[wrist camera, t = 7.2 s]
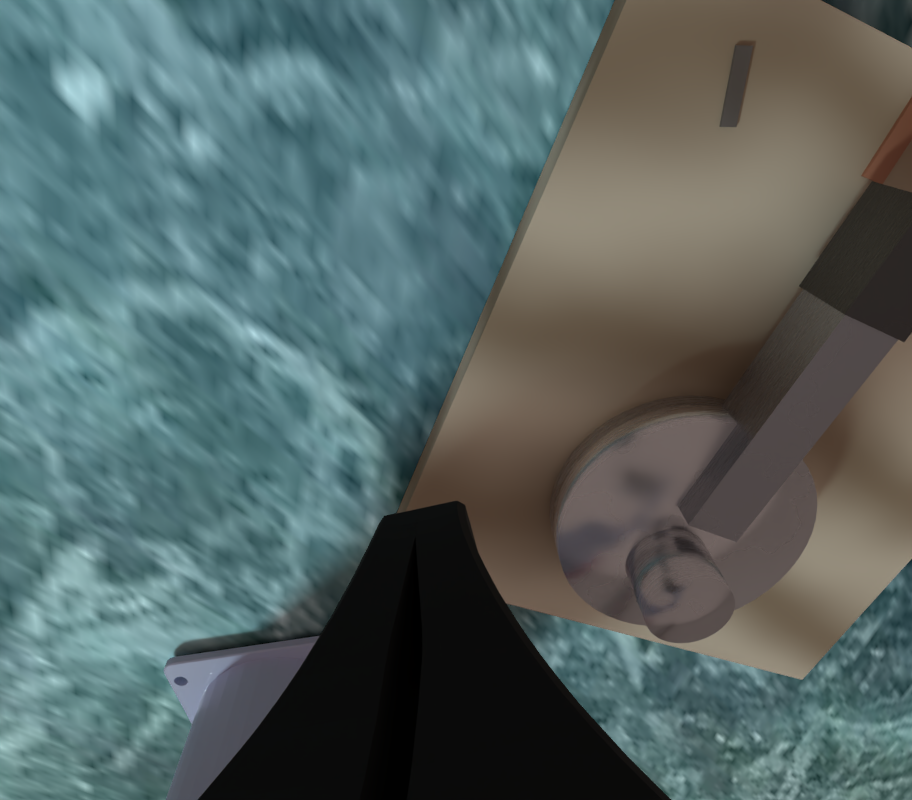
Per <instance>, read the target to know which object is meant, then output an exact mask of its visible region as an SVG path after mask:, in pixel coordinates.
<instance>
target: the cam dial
mask: <svg viewBox="0 0 912 800" xmlns="http://www.w3.org/2000/svg"><path fill="white" fill-rule="evenodd" d="M799 287H801V288H802V289H803V290H802V292H801V293H800V294H799V296H798V297H797V299H796V300H795V302H794V303H793V304H792V306H791V307H790V309H789V310H788V312H787V313H786V314H785V316H784V317H783V319H782V320H781V321H780V323H779V324H778V326H777V327H776V329H775V330H774V331H773V333H772V334H771V336H770V337H769V339H768V340H767V341H766V343H765V344H764V346H763V347H762V349H761V350H760V351H759V353H758V354H757V356H756V357H755V359H754V360H753V361H752V363H751V364H750V366H749V367H748V369H747V370H746V371H745V373H744V374H743V376H742V377H741V378H740V380H739V381H738V383H737V384H736V386H735V387H734V388H733V390H732V391H731V393H730V394H729V396H728V397H727V398H726V399H721V398H715V397H710V396H694V395H691V396H675V397H669V398H664V399H658V400H655V401H651V402H648V403H644V404H641V405H639V406H636V407H634V408H631V409H629V410H626V411H624V412H622V413H621V414H619V415H617V416H615V417H613V418H611V419H610V420H608V421H607V422H605V423H604V424H602V425H601V426H599V427H598V428H597V429H595V430H594V431H593V432H592V433H591V434H590V435H588V436H587V437H586V438H585V439H584V440H583V441H582V442H581V443H580V444H579V445H578V446H577V447H576V449H575V450H574V451H573V452H572V453H571V455H570V456H569V458H568V459H567V460H566V462H565V463H564V465H563V467H562V469H561V471H560V473H559V474H558V476H557V479H556V482H555V485H554V487H553V490H552V495H551V501H550V523H551V529H552V533H553V537H554V541H555V544H556V548H557V552H558V556H559V559H560V563H561V566H562V569H563V572H564V574H565V576H566V578H567V580H568V582H569V584H570V585H571V587H572V588H573V589H574V591H575V592H576V593H577V594H578V595H579V596H580V597H581V598H582V599H583V600H584V601H585V602H586V603H587V604H589V605H590V606H592V607H593V608H594V609H596V610H597V611H599V612H601V613H603V614H605V615H607V616H609V617H612V618H614V619H617V620H620V621H623V622H627V623H631V624H636V625H643V626H647V627H648V629H649V630H650V632H651V633H652V634H653V635H654V636H656V637H657V638H659V639H661V640H664V641H667V642H671V643H690V642H695V641H699V640H702V639H705V638H707V637H709V636H711V635H713V634H715V633H716V632H717V631H719V630H720V629H721V628H723V627H724V626H725V625H726V623H727V622H728V621H729V620H730V618H731V616H732V614H733V612H734V610H736V609H739V608H741V607H743V606H744V605H746V604H748V603H750V602H751V601H753V600H755V599H756V598H758V597H759V596H761V595H762V594H764V593H765V592H766V591H768V590H769V589H770V588H771V587H773V586H774V585H775V584H776V583H777V582H779V581H780V580H781V579H782V578H783V577H784V575H785V574H786V573H787V572H788V571H789V570H790V569H791V568H792V567H793V565H794V564H795V563H796V561H797V560H798V559H799V557H800V556H801V554H802V552H803V551H804V549H805V547H806V546H807V544H808V541H809V539H810V537H811V534H812V532H813V528H814V524H815V521H816V514H817V492H816V488H815V484H814V480H813V477H812V475H811V473H810V471H809V469H808V467H807V465H806V464H805V462H804V461H803V458H804V457H805V456H806V455H807V453H808V452H809V451H810V450H811V448H812V447H813V446H814V445H815V443H816V442H817V441H818V440H819V438H820V437H821V436H822V434H823V433H824V432H825V431H826V429H827V428H828V427H829V426H830V424H831V423H832V422H833V421H834V419H835V418H836V417H837V416H838V414H839V413H840V412H841V411H842V409H843V408H844V407H845V406H846V404H847V403H848V402H849V401H850V399H851V398H852V397H853V396H854V394H855V393H856V392H857V391H858V389H859V388H860V387H861V386H862V384H863V383H864V382H865V381H866V379H867V378H868V377H869V376H870V374H871V373H872V372H873V371H874V369H875V368H876V367H877V366H878V364H879V363H880V362H881V361H882V359H883V358H884V357H885V356H886V354H887V353H888V352H889V351H890V349H891V348H892V347H893V346H894V344H895V343H896V342H897V341H898V340H900V341H902V342H905V341H906V339H907V338H908V337H909V336H910V334H911V333H912V192H909V191H905V190H902V189H898V188H894V187H891V186H887V185H884V184H880V183H877V182H873V181H872V182H871V183H870V185H869V186H868V187H867V189H866V190H865V192H864V193H863V195H862V196H861V197H860V199H859V200H858V202H857V203H856V205H855V206H854V208H853V209H852V210H851V212H850V213H849V215H848V216H847V218H846V219H845V220H844V222H843V223H842V225H841V226H840V228H839V229H838V230H837V232H836V233H835V235H834V236H833V238H832V239H831V241H830V242H829V243H828V245H827V246H826V248H825V249H824V251H823V252H822V253H821V255H820V256H819V258H818V259H817V261H816V262H815V264H814V265H813V266H812V268H811V269H810V271H809V272H808V274H807V275H806V276H805V278H804V279H803V281H802V282H801V284H800V285H799Z"/></svg>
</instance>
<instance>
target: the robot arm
mask: <svg viewBox="0 0 912 800" xmlns="http://www.w3.org/2000/svg"><path fill="white" fill-rule="evenodd" d="M164 674H165V675H166V677H167V679H168V681H169V683H170V685H171V687H172V688H173V690H174V692H175V694H176V696H177V698H178V699H179V701H180V703H181V705H182V707H183V709H184V711H185V712H186V714H187V716H188V718H189V720H190V722H191V723H192V726H191V729H190V731H189V734H188V737H187V740H186V743H185V746H184V749H183V752H182V754H181V757H180V760H179V763H178V766H177V769H176V772H175V775H174V777H173V780H172V783H171V786H170V789H169V792H168V795H167V798H166V800H671V799H670V798H669V797H668V796H667V795H666V794H665V793H664V792H663V791H662V790H661V789H660V788H659V787H658V786H657V785H656V784H655V783H654V782H653V781H652V780H651V779H650V778H649V777H648V776H647V775H646V774H645V773H644V772H643V771H642V770H641V769H640V768H639V767H638V766H637V765H636V764H635V763H634V762H633V761H632V760H631V759H630V758H629V757H628V756H627V755H626V754H625V753H624V752H623V751H622V750H621V749H620V748H619V747H618V746H617V744H616V743H615V742H614V741H613V740H612V739H611V738H610V737H609V736H608V735H607V734H606V732H605V731H604V730H603V729H602V728H601V727H600V726H599V725H598V724H597V723H596V721H595V720H594V719H593V718H592V717H591V716H590V715H589V714H588V713H587V712H586V710H585V709H584V708H583V707H582V706H581V705H580V704H579V703H578V701H577V700H576V699H575V698H574V697H573V695H572V694H571V693H570V692H569V690H568V689H567V688H566V687H565V685H564V684H563V683H562V682H561V681H560V679H559V678H558V677H557V676H556V674H555V673H554V672H553V670H552V669H551V668H550V667H549V665H548V664H547V663H546V661H545V660H544V659H543V657H542V656H541V655H540V653H539V652H538V651H537V649H536V648H535V646H534V645H533V644H532V642H531V641H530V639H529V638H528V637H527V635H526V634H525V632H524V631H523V629H522V628H521V626H520V625H519V623H518V622H517V620H516V619H515V617H514V615H513V614H512V612H511V611H510V609H509V608H508V606H507V604H506V603H505V601H504V599H503V598H502V596H501V594H500V593H499V591H498V589H497V587H496V586H495V584H494V582H493V580H492V578H491V576H490V574H489V573H488V571H487V569H486V567H485V565H484V563H483V561H482V559H481V557H480V555H479V552H478V549H477V546H476V542H475V539H474V535H473V531H472V528H471V524H470V520H469V517H468V513H467V510H466V506H465V505H464V504H463V503H461V502H459V501H452V502H447V503H443V504H438V505H433V506H429V507H424V508H419V509H415V510H410V511H405V512H401V513H396V514H391V515H387V516H384V517H383V519H382V520H381V522H380V523H379V525H378V527H377V529H376V531H375V533H374V536H373V538H372V540H371V542H370V544H369V546H368V548H367V550H366V552H365V554H364V556H363V558H362V560H361V562H360V564H359V566H358V568H357V570H356V572H355V574H354V576H353V578H352V580H351V582H350V583H349V585H348V587H347V589H346V591H345V593H344V594H343V596H342V598H341V600H340V602H339V603H338V605H337V607H336V609H335V611H334V613H333V614H332V616H331V618H330V620H329V621H328V623H327V625H326V626H325V628H324V630H323V631H322V633H321V634H320V636H314V637H308V638H301V639H294V640H287V641H280V642H273V643H266V644H260V645H253V646H246V647H239V648H232V649H225V650H218V651H211V652H205V653H198V654H191V655H184V656H177V657H173V658H170V659H169V660H168V661H167V663H166V665H165V668H164Z"/></svg>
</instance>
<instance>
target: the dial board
mask: <svg viewBox="0 0 912 800" xmlns="http://www.w3.org/2000/svg"><path fill="white" fill-rule="evenodd" d="M872 181H873V182H877V183H880V184H884V185H887V186H891V187H894V188H898V189H902V190H905V191H909V192H912V48H911V47H909V46H908V45H906V44H904V43H902V42H900V41H898V40H896V39H894V38H892V37H890V36H888V35H886V34H885V33H883V32H881V31H879V30H877V29H875V28H873V27H871V26H869V25H867V24H865V23H863V22H862V21H860V20H858V19H856V18H854V17H852V16H850V15H848V14H846V13H844V12H842V11H840V10H839V9H837V8H835V7H833V6H831V5H829V4H827V3H825V2H823V1H821V0H615V1H614V3H613V6H612V8H611V10H610V13H609V15H608V17H607V20H606V22H605V25H604V27H603V29H602V32H601V34H600V36H599V39H598V41H597V43H596V46H595V48H594V50H593V53H592V55H591V57H590V60H589V62H588V64H587V67H586V69H585V72H584V74H583V76H582V79H581V81H580V83H579V86H578V88H577V90H576V93H575V95H574V97H573V100H572V102H571V104H570V107H569V109H568V111H567V114H566V116H565V119H564V121H563V123H562V126H561V128H560V130H559V133H558V135H557V137H556V140H555V142H554V144H553V147H552V149H551V151H550V154H549V156H548V159H547V161H546V163H545V166H544V168H543V170H542V173H541V175H540V177H539V180H538V182H537V184H536V187H535V189H534V191H533V194H532V196H531V198H530V201H529V203H528V206H527V208H526V210H525V213H524V215H523V217H522V220H521V222H520V224H519V227H518V229H517V231H516V234H515V236H514V238H513V241H512V243H511V245H510V248H509V250H508V253H507V255H506V257H505V260H504V262H503V264H502V267H501V269H500V271H499V274H498V276H497V278H496V281H495V283H494V285H493V288H492V290H491V293H490V295H489V297H488V300H487V302H486V304H485V307H484V309H483V311H482V314H481V316H480V318H479V321H478V323H477V325H476V328H475V330H474V332H473V335H472V337H471V340H470V342H469V344H468V347H467V349H466V351H465V354H464V356H463V358H462V361H461V363H460V365H459V368H458V370H457V372H456V375H455V377H454V379H453V382H452V384H451V387H450V389H449V391H448V394H447V396H446V398H445V401H444V403H443V405H442V408H441V410H440V412H439V415H438V417H437V419H436V422H435V424H434V426H433V429H432V431H431V434H430V436H429V438H428V441H427V443H426V445H425V448H424V450H423V452H422V455H421V457H420V459H419V462H418V464H417V466H416V469H415V471H414V474H413V476H412V478H411V481H410V483H409V485H408V488H407V490H406V492H405V495H404V497H403V499H402V502H401V504H400V506H399V509H398V511H397V513H401V512H405V511H410V510H415V509H419V508H424V507H429V506H433V505H438V504H443V503H447V502H452V501H459V502H461V503H463V504H464V505H465V506H466V510H467V513H468V517H469V520H470V524H471V528H472V531H473V535H474V539H475V542H476V546H477V549H478V552H479V555H480V557H481V559H482V561H483V563H484V565H485V567H486V569H487V571H488V573H489V574H490V576H491V578H492V580H493V582H494V584H495V586H496V587H497V589H498V591H499V593H500V594H501V596H502V598H503V599H504V601H505V603H507V604H511V605H515V606H518V607H522V608H526V609H530V610H534V611H538V612H542V613H546V614H549V615H553V616H557V617H561V618H565V619H569V620H573V621H577V622H580V623H584V624H588V625H592V626H596V627H600V628H604V629H608V630H611V631H615V632H619V633H623V634H627V635H631V636H635V637H639V638H642V639H646V640H650V641H654V642H658V643H662V644H666V645H670V646H673V647H677V648H681V649H685V650H689V651H693V652H697V653H701V654H704V655H708V656H712V657H716V658H720V659H724V660H728V661H732V662H735V663H739V664H743V665H747V666H751V667H755V668H759V669H763V670H766V671H770V672H774V673H778V674H782V675H786V676H790V677H794V678H797V679H801V680H802V679H803V678H804V677H805V676H806V675H807V674H808V673H809V672H810V670H811V669H812V668H813V667H814V666H815V665H816V664H817V663H818V662H819V660H820V659H821V658H822V657H823V656H824V655H825V654H826V653H827V652H828V650H829V649H830V648H831V647H832V646H833V645H834V644H835V643H836V642H837V641H838V639H839V638H840V637H841V636H842V635H843V634H844V633H845V632H846V631H847V629H848V628H849V627H850V626H851V625H852V624H853V623H854V622H855V621H856V620H857V618H858V617H859V616H860V615H861V614H862V613H863V612H864V611H865V610H866V608H867V607H868V606H869V605H870V604H871V603H872V602H873V601H874V600H875V598H876V597H877V596H878V595H879V594H880V593H881V592H882V591H883V590H884V589H885V587H886V586H887V585H888V584H889V583H890V582H891V581H892V580H893V579H894V577H895V576H896V575H897V574H898V573H899V572H900V571H901V570H902V569H903V568H904V566H905V565H906V564H907V563H908V562H909V561H910V560H911V559H912V333H911V334H910V336H909V337H908V338H907V339H906V341H905V342H902V341H900V340H898V341H897V342H896V343H895V344H894V346H893V347H892V348H891V349H890V351H889V352H888V353H887V354H886V356H885V357H884V358H883V359H882V361H881V362H880V363H879V364H878V366H877V367H876V368H875V369H874V371H873V372H872V373H871V374H870V376H869V377H868V378H867V379H866V381H865V382H864V383H863V384H862V386H861V387H860V388H859V389H858V391H857V392H856V393H855V394H854V396H853V397H852V398H851V399H850V401H849V402H848V403H847V404H846V406H845V407H844V408H843V409H842V411H841V412H840V413H839V414H838V416H837V417H836V418H835V419H834V421H833V422H832V423H831V424H830V426H829V427H828V428H827V429H826V431H825V432H824V433H823V434H822V436H821V437H820V438H819V440H818V441H817V442H816V443H815V445H814V446H813V447H812V448H811V450H810V451H809V452H808V453H807V455H806V456H805V457H804V458H803V461H804V462H805V464H806V465H807V467H808V469H809V471H810V473H811V475H812V477H813V480H814V484H815V488H816V492H817V514H816V521H815V524H814V528H813V532H812V534H811V537H810V539H809V541H808V544H807V546H806V547H805V549H804V551H803V552H802V554H801V556H800V557H799V559H798V560H797V561H796V563H795V564H794V565H793V567H792V568H791V569H790V570H789V571H788V572H787V573H786V574H785V575H784V577H783V578H782V579H781V580H780V581H779V582H777V583H776V584H775V585H774V586H773V587H771V588H770V589H769V590H768V591H766V592H765V593H764V594H762V595H761V596H759V597H758V598H756V599H755V600H753V601H751V602H750V603H748V604H746V605H744V606H743V607H741V608H739V609H736V610H734V612H733V614H732V616H731V618H730V620H729V621H728V622H727V623H726V625H725V626H724V627H723V628H721V629H720V630H719V631H717V632H716V633H715V634H713V635H711V636H709V637H707V638H705V639H702V640H699V641H695V642H690V643H671V642H667V641H664V640H661V639H659V638H657V637H656V636H654V635H653V634H652V633H651V632H650V630H649V629H648V627H647V626H643V625H636V624H631V623H627V622H623V621H620V620H617V619H614V618H612V617H609V616H607V615H605V614H603V613H601V612H599V611H597V610H596V609H594V608H593V607H592V606H590V605H589V604H587V603H586V602H585V601H584V600H583V599H582V598H581V597H580V596H579V595H578V594H577V593H576V592H575V591H574V589H573V588H572V587H571V585H570V584H569V582H568V580H567V578H566V576H565V574H564V572H563V569H562V566H561V563H560V559H559V556H558V552H557V548H556V544H555V541H554V537H553V533H552V529H551V523H550V501H551V495H552V490H553V487H554V485H555V482H556V479H557V476H558V474H559V473H560V471H561V469H562V467H563V465H564V463H565V462H566V460H567V459H568V458H569V456H570V455H571V453H572V452H573V451H574V450H575V449H576V447H577V446H578V445H579V444H580V443H581V442H582V441H583V440H584V439H585V438H586V437H587V436H588V435H590V434H591V433H592V432H593V431H594V430H595V429H597V428H598V427H599V426H601V425H602V424H604V423H605V422H607V421H608V420H610V419H611V418H613V417H615V416H617V415H619V414H621V413H622V412H624V411H626V410H629V409H631V408H634V407H636V406H639V405H641V404H644V403H648V402H651V401H655V400H658V399H664V398H669V397H675V396H691V395H694V396H710V397H715V398H721V399H726V398H727V397H728V396H729V394H730V393H731V391H732V390H733V388H734V387H735V386H736V384H737V383H738V381H739V380H740V378H741V377H742V376H743V374H744V373H745V371H746V370H747V369H748V367H749V366H750V364H751V363H752V361H753V360H754V359H755V357H756V356H757V354H758V353H759V351H760V350H761V349H762V347H763V346H764V344H765V343H766V341H767V340H768V339H769V337H770V336H771V334H772V333H773V331H774V330H775V329H776V327H777V326H778V324H779V323H780V321H781V320H782V319H783V317H784V316H785V314H786V313H787V312H788V310H789V309H790V307H791V306H792V304H793V303H794V302H795V300H796V299H797V297H798V296H799V294H800V293H801V292H802V290H803V289H802V288H801V287H799V285H800V284H801V282H802V281H803V279H804V278H805V276H806V275H807V274H808V272H809V271H810V269H811V268H812V266H813V265H814V264H815V262H816V261H817V259H818V258H819V256H820V255H821V253H822V252H823V251H824V249H825V248H826V246H827V245H828V243H829V242H830V241H831V239H832V238H833V236H834V235H835V233H836V232H837V230H838V229H839V228H840V226H841V225H842V223H843V222H844V220H845V219H846V218H847V216H848V215H849V213H850V212H851V210H852V209H853V208H854V206H855V205H856V203H857V202H858V200H859V199H860V197H861V196H862V195H863V193H864V192H865V190H866V189H867V187H868V186H869V185H870V183H871V182H872Z"/></svg>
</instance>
